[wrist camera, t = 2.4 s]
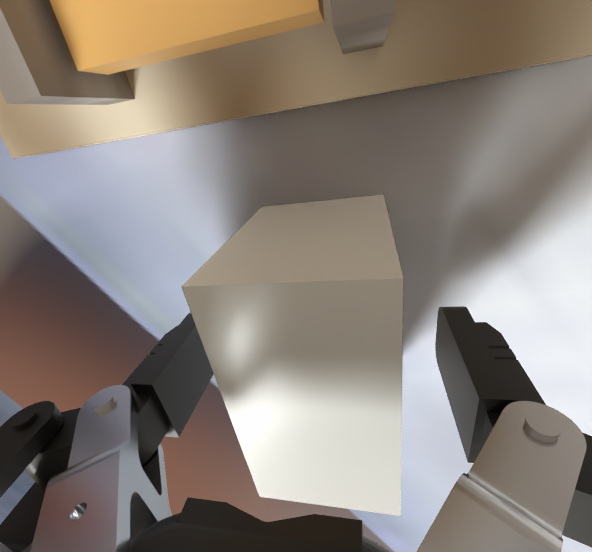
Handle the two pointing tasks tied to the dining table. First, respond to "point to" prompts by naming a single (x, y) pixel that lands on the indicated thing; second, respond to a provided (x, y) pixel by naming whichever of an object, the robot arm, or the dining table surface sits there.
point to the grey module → (310, 350)
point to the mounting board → (269, 66)
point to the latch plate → (170, 27)
